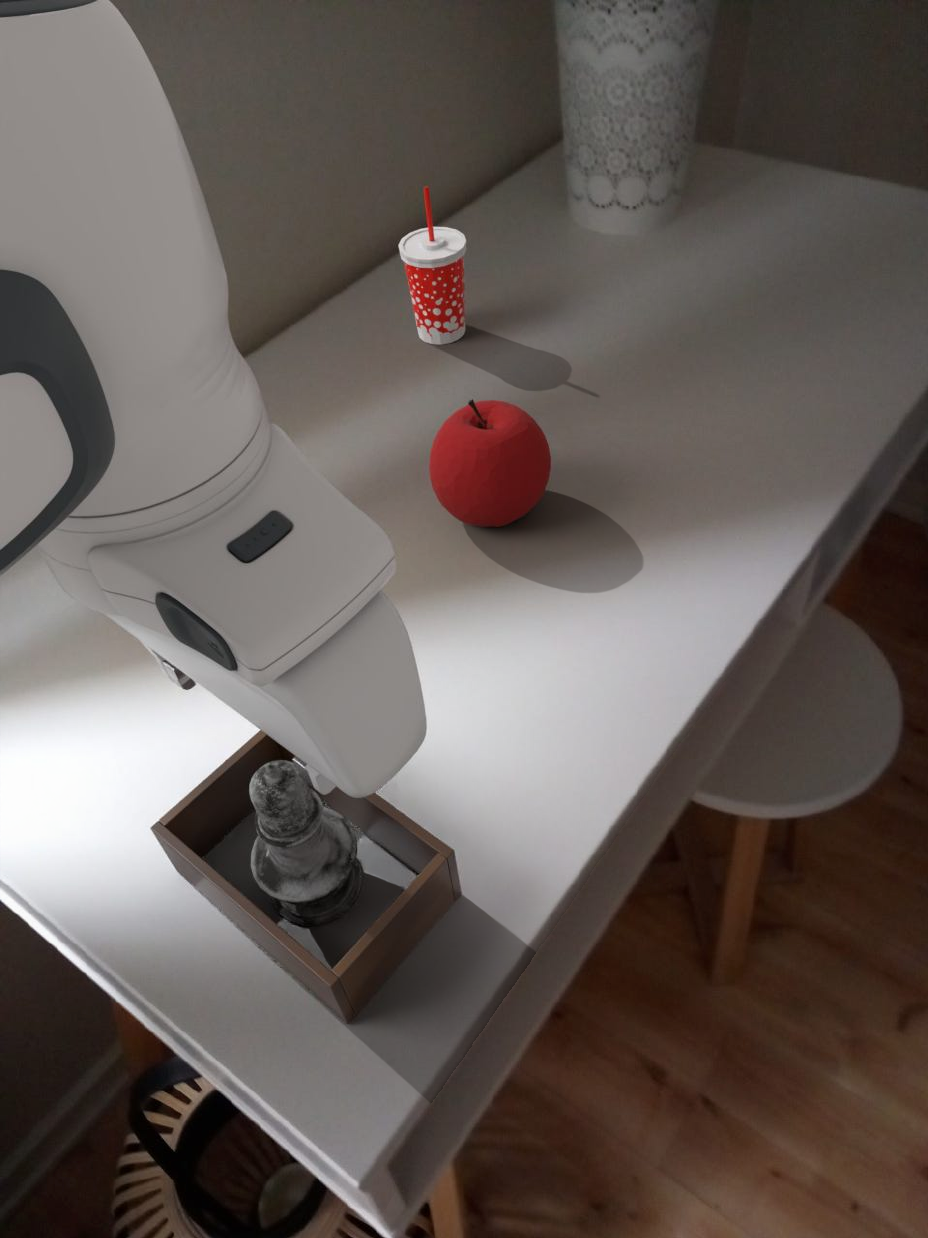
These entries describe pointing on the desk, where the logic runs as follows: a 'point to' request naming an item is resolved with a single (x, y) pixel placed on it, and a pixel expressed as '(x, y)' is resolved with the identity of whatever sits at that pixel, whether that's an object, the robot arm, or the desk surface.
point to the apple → (489, 463)
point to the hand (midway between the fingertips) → (255, 723)
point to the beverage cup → (436, 279)
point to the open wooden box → (342, 990)
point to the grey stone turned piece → (301, 848)
